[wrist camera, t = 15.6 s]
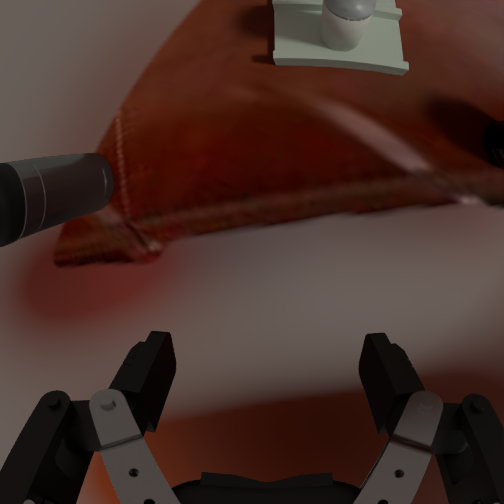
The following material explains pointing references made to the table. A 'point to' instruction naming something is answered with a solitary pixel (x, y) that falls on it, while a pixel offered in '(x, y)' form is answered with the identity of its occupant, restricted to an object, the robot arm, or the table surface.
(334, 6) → the white cylinder
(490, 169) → the table surface
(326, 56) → the divided tray
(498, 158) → the supplement bottle
